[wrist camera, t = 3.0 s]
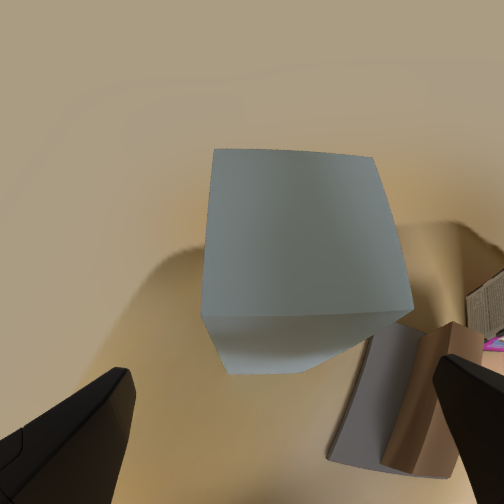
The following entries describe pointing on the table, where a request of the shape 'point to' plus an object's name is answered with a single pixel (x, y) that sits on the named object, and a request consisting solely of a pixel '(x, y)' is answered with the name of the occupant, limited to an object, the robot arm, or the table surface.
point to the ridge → (429, 406)
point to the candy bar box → (488, 312)
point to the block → (298, 259)
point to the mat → (377, 400)
